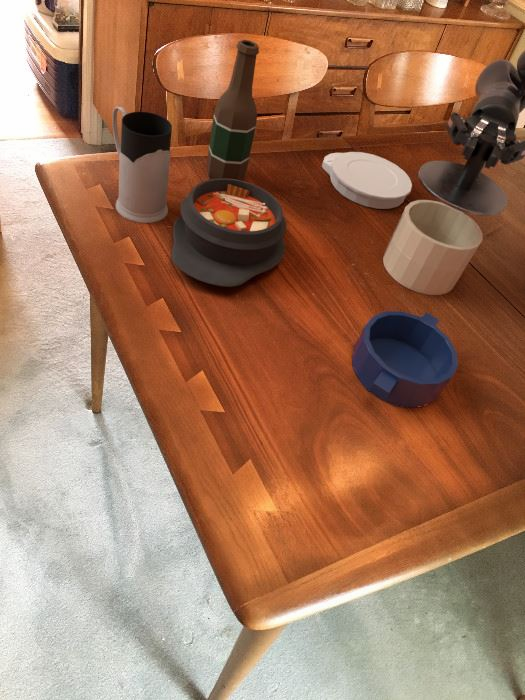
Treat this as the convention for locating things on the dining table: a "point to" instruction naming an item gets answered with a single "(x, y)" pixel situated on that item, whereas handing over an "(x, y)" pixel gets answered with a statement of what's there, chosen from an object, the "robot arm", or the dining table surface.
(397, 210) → the dining table surface
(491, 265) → the dining table surface
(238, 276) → the casserole
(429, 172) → the steel lid
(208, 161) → the beer bottle
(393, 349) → the pan
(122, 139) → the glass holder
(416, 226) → the pot
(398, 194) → the lid
